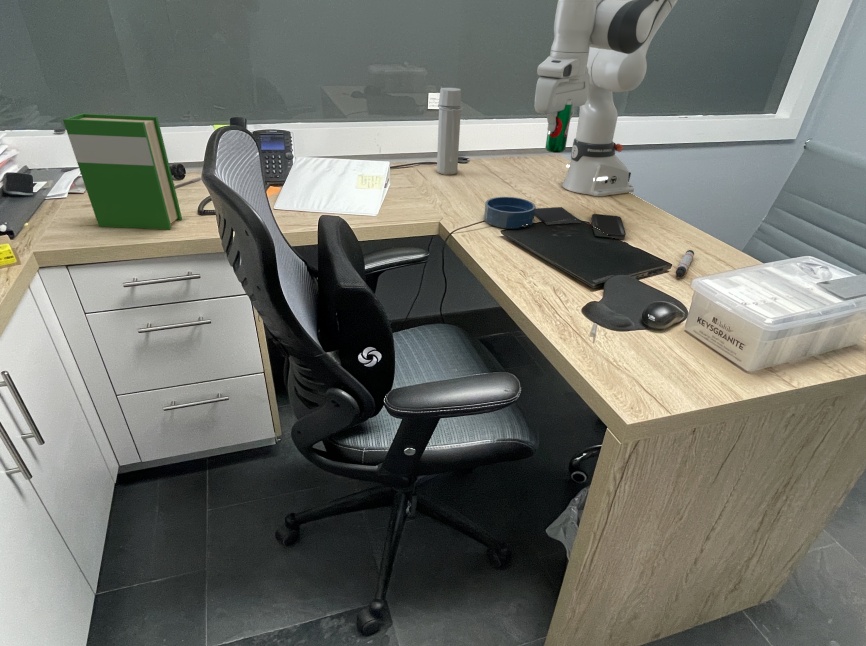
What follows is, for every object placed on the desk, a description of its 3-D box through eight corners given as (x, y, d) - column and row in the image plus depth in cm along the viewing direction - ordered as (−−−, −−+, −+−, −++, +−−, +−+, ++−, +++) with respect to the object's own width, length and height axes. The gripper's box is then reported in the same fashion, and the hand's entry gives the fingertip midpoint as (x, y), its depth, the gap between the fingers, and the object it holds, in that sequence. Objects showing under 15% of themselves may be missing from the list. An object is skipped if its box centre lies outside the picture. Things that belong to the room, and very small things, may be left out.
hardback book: (182, 219, 139) (157, 116, 124) (170, 229, 133) (142, 122, 118) (114, 216, 139) (81, 113, 125) (98, 226, 133) (62, 119, 119)
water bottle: (433, 170, 184) (435, 87, 170) (455, 169, 186) (459, 87, 171) (439, 177, 177) (443, 91, 163) (462, 176, 179) (468, 91, 164)
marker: (684, 257, 128) (686, 248, 127) (692, 258, 128) (695, 250, 127) (672, 279, 118) (674, 271, 116) (681, 282, 117) (684, 273, 116)
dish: (521, 211, 152) (523, 195, 149) (541, 228, 141) (543, 211, 139) (477, 214, 149) (478, 198, 146) (493, 231, 138) (495, 214, 136)
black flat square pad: (561, 209, 155) (561, 206, 154) (580, 223, 145) (581, 221, 145) (528, 210, 153) (529, 208, 152) (546, 225, 143) (547, 223, 143)
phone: (620, 216, 147) (626, 235, 135) (619, 220, 148) (625, 239, 136) (591, 213, 148) (594, 232, 136) (590, 217, 149) (593, 236, 137)
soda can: (566, 153, 136) (575, 100, 129) (546, 152, 136) (554, 99, 129) (563, 148, 140) (571, 97, 133) (543, 148, 140) (550, 96, 133)
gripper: (576, 61, 135) (567, 121, 143) (533, 67, 122) (525, 133, 130) (599, 63, 132) (588, 125, 140) (558, 70, 119) (548, 137, 127)
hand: (558, 129), depth 135 cm, fingers closed on soda can, 5 cm apart
